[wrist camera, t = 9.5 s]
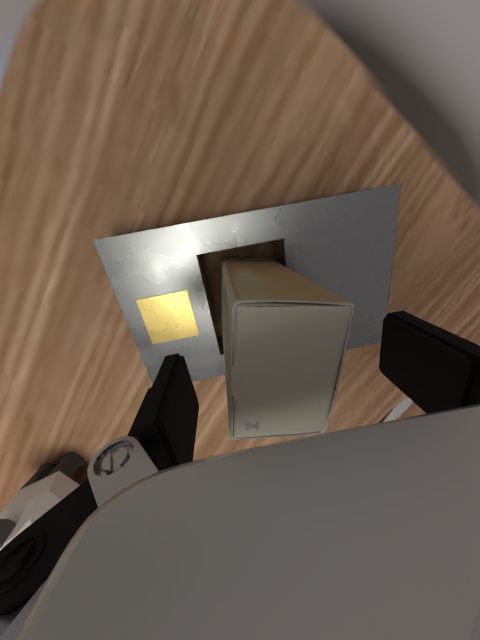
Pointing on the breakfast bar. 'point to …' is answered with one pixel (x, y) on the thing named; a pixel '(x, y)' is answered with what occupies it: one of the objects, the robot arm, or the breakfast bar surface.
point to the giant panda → (39, 496)
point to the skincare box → (280, 348)
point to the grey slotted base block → (290, 251)
